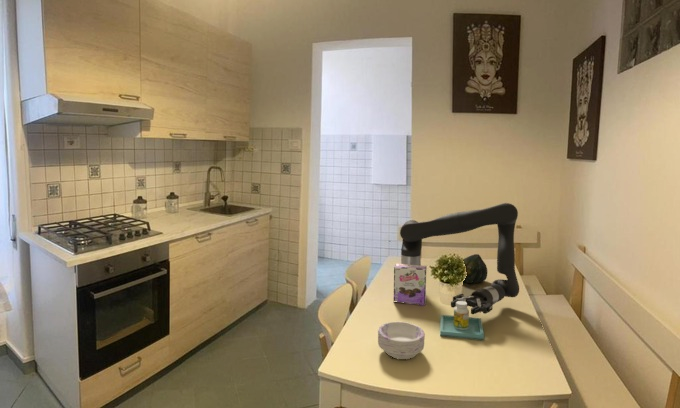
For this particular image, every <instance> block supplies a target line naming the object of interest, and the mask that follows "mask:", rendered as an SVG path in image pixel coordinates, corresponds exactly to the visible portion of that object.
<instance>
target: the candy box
mask: <svg viewBox="0 0 680 408" xmlns="http://www.w3.org/2000/svg"><path fill="white" fill-rule="evenodd" d="M393 268H394V269H393V302H394V301H397V302H404V303H411V304H410V305H415V304H419V305H418V306H426V303H425V302H427V300H426V299H427V297H426V296H427V295H426V293H427V271H428V270H427V265H422V264H421V265H407V264H401V263H395V265H394V267H393ZM404 303H403V304H404Z"/></svg>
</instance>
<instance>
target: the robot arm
mask: <svg viewBox="0 0 680 408" xmlns="http://www.w3.org/2000/svg"><path fill="white" fill-rule="evenodd" d="M518 216H519V211H518V209H517V207H516V206H515V205H514V204H512V203H507V202H504V203H503V202H502V203H500V204H497V205H494V206H489V207H486V208H482V209H473V210H472V209H471V210H466V211H459V212H453V213H449V214H445V215H441V216H439V217H436V218H434V219H431V220H427V221H421V222H419V221H418V220H415V219H410V220H407V221H406V222H405V223H403V225H402V226H401V227H400V231H399V235H400V238H401V239H402V244H401V250H400V255H401V256H400V264H407V265H421V266H422V264H421V263H422V261H421V260H422V247H423V244H422V243H423V239H427V238H432V237H440V236H441V237H442V236H449V235H457V234H463V233H466V232H470V231H473V230H476V229H479V228H482V227H485V226H492V225H497V231H498V243H497V251H496V252H497V254H496V271H497V272H498V273H499V274H502V275H504V276H505V277H506V279H501V278H500V279H494V281H492V282H491V284H490V285H488V286H483V287H481V288H478V289H477V290H475V291H473V292H471V294H470V295H469V296H467V295H466V296H465V295H464V293H459V294H457V295H455V296H452V301H450V308H455V307H456V302H457V301H464V302H466V303H467V307H470V314H471V315H475V314H478V313H483V314H484V315H485V314H487V313H490V312H491V311H493V308H494V305H495V304H497V303H499V302H501V301H502V300H503V299H504V298H505V297H506V298H516V297H517V296H518V295H519V294H520V293H519V292H520V285H519V280H518V278H517V274H516V267H515V266H516V254H515V252H516V251H515V241H514V239H515V228H516V223H517V219H518Z"/></svg>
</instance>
